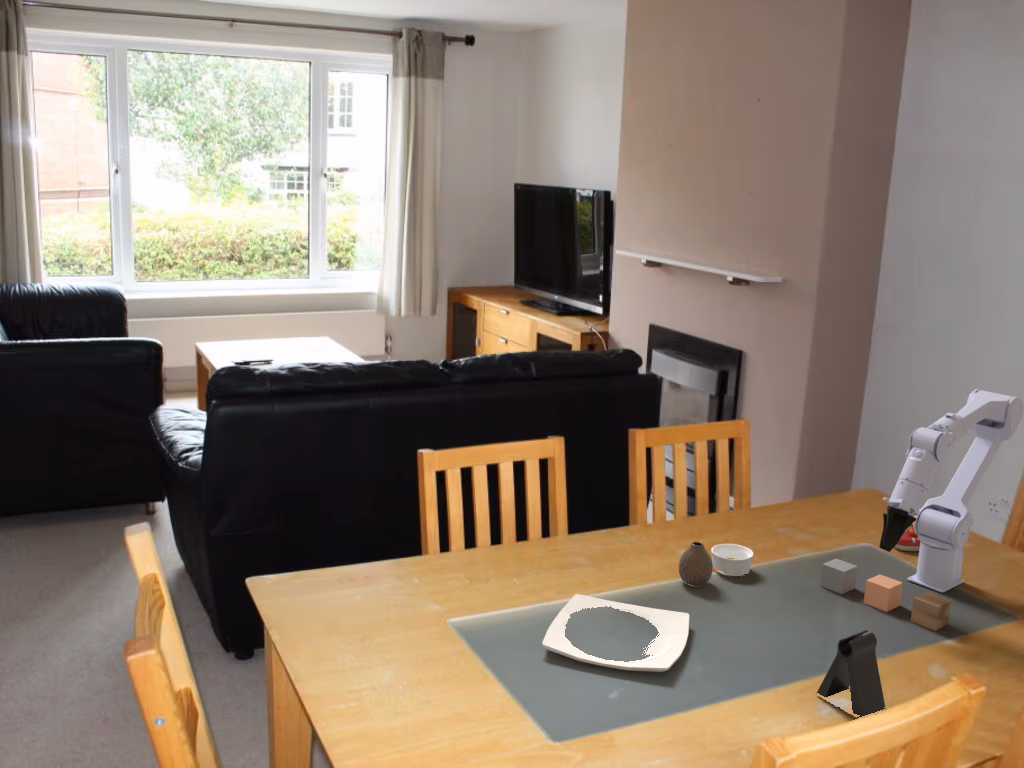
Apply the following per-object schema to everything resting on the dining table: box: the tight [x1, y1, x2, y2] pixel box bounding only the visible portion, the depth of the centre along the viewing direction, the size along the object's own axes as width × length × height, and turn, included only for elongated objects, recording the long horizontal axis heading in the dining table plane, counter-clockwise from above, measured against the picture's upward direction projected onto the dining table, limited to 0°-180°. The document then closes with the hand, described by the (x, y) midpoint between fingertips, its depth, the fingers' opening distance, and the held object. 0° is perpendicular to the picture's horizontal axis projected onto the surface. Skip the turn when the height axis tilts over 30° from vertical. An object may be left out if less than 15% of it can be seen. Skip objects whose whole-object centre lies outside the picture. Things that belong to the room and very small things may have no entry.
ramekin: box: [710, 543, 754, 576], centre depth 212 cm, size 9×9×4 cm
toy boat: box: [894, 515, 921, 552], centre depth 228 cm, size 8×12×8 cm, turn 89°
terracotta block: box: [863, 573, 904, 613], centre depth 198 cm, size 5×5×5 cm
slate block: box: [819, 558, 858, 595], centre depth 205 cm, size 5×5×5 cm
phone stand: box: [816, 629, 887, 718], centre depth 160 cm, size 9×6×12 cm, turn 34°
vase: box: [678, 541, 714, 587], centre depth 204 cm, size 7×7×9 cm
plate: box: [541, 593, 690, 673], centre depth 180 cm, size 24×24×3 cm
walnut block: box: [910, 591, 952, 632], centre depth 190 cm, size 5×5×5 cm
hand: (886, 548), depth 194 cm, fingers open, 7 cm apart
